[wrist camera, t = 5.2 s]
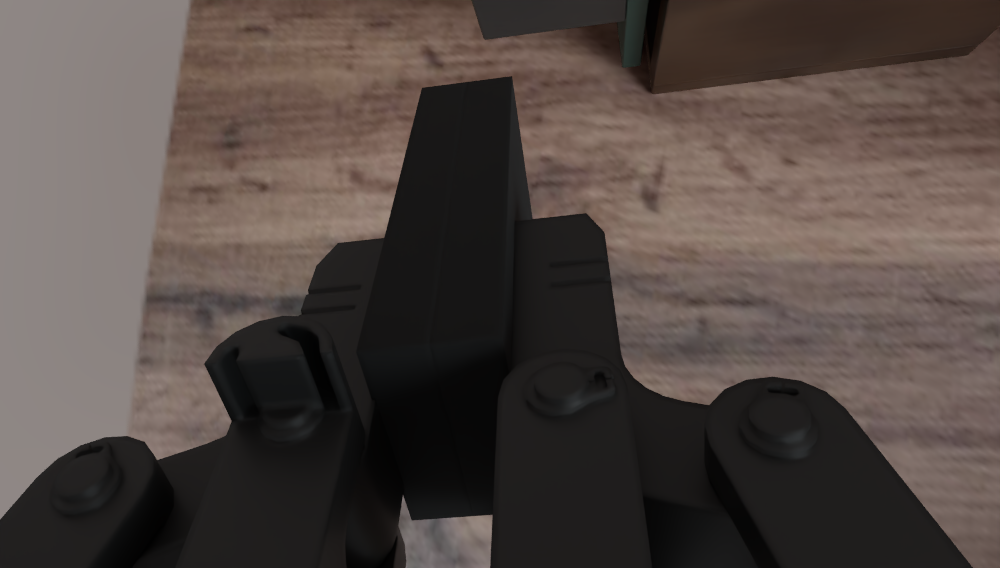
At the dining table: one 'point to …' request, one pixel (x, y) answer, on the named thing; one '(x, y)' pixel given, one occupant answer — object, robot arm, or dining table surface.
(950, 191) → the dining table surface
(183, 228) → the dining table surface
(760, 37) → the cupboard
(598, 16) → the door
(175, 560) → the robot arm
